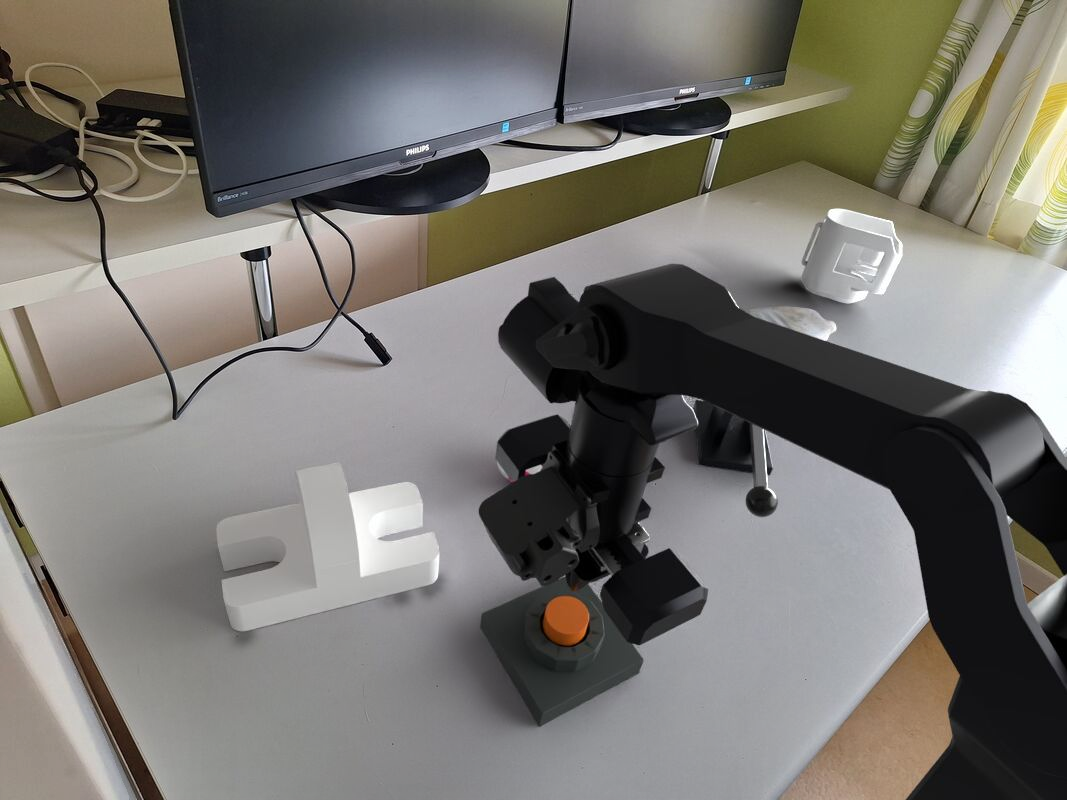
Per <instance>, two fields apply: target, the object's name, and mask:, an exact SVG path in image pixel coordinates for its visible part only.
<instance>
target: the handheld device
mask: <svg viewBox="0 0 1067 800" xmlns="http://www.w3.org/2000/svg"><path fill="white" fill-rule="evenodd" d="M738 308H740V307H739V306H738ZM742 310H743V311H745V312H747V313H749V314H750V315H752V316H754V317H756V318H759V319H762V320H765V321H768V322H771V323H774V324H777V325H780V326H783V327H786V328H789V329H792V330H795V331H798V332H801V333H804V334H807V335H810V336H813V337H816V338H819V339H822V340H825V341H828V339H829V337H830V336H831V335H832V334H833V333H835V332H836V331H837V325H836V323H835V322H834V321H833V320H830V319H824V317H823V316H822V315H821V314H820V312H819V313H818V312H817V311H816V310H814V309H812V308H808V307H807V308H806V307H799V306H767V307H766V306H765V307H758V308H749V309H742Z"/></svg>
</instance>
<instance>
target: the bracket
mask: <svg viewBox="0 0 1067 800" xmlns="http://www.w3.org/2000/svg"><path fill="white" fill-rule="evenodd" d="M692 406H693V407H692V409H693V411H694V413H695V416H696V418H697V421H698V427H697V428H696V429H694V430H695V439H696V449H697V450H696V451H697V456H698V457H697V459H698V465H699V466H701V467H703V466H704V467H710V468H714V469H715V468H717V469H723V470H728V471H729V470H730V471H736V472H743V473H750V474H753V471H752V455H751V440H750V424H749V422H747V421H745V420H743V419H741V418H739V417H737V416H735V415H733V414H731V413H728V412H726V411H724V410H722V409H720V408H718V407H716V406H714V405H712V404H710V403H708V402H705V401H703V400H701V399H695V400H694V404H693V405H692ZM763 434H764V447H765V460H766V473H767V476H771V474H772V472H773V469H774V465H773V461H772V456H771V450H770V446H769V442H768V437H767V431H766V430H764V429H763Z"/></svg>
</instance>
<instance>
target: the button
mask: <svg viewBox="0 0 1067 800" xmlns="http://www.w3.org/2000/svg"><path fill="white" fill-rule="evenodd" d="M588 622H589V613H588V610H587V608H586V607H585V605H584V604H583V603H582V602H581V601H579V600H578V599H576V598H573V597H570V596H560V597H557V598H555V599H553V600H552V601H550V602H549V604H548V605H547V607H546V610H545V615H544V620H543V629H544V632H545V634H546V636H547V637H548V638H549V639H550V640H551V641H552V642H554V643H556V644H558V645H562V646H571V645H574V644H577V643H578V642H580V641H581V640H582V639H583V637H584V635H585V632H586V629H587V625H588Z"/></svg>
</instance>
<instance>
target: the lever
mask: <svg viewBox="0 0 1067 800" xmlns="http://www.w3.org/2000/svg"><path fill="white" fill-rule="evenodd" d="M749 424H750V440H751V455H752V471H753V473H752V485H753V486H752V488H751V489H750V490H748V492H747V493H746V495H745V502H744V503H745V506H746V509H747V510H748V511H749V512H750V513H751V514H752V515H753V516H755V517H759V518H767V517H769V516H771V515H772V514H774V513H775V511H776V510H777V508H778V504H779V500H778V499H779V498H778V495H777V494H776V493H775V491H774V490H773V489H772V488H770V487H769V485H768V475H767V473H766V460H765V447H764V434H763V429H762V428H760V427H758V426H756V425H753V424H751V423H749Z"/></svg>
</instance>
